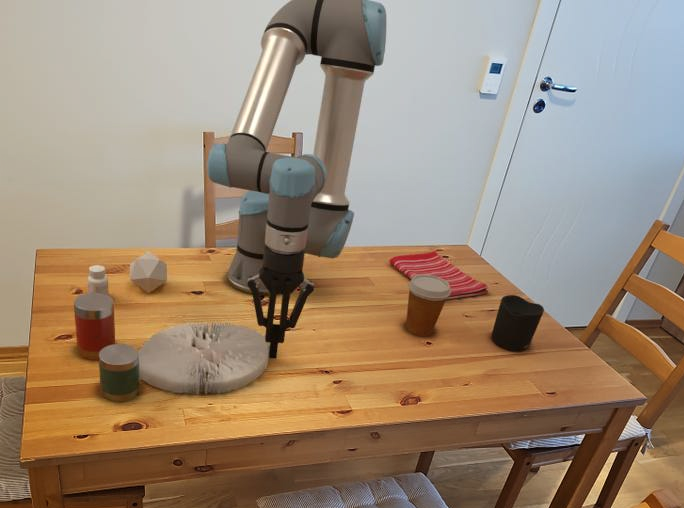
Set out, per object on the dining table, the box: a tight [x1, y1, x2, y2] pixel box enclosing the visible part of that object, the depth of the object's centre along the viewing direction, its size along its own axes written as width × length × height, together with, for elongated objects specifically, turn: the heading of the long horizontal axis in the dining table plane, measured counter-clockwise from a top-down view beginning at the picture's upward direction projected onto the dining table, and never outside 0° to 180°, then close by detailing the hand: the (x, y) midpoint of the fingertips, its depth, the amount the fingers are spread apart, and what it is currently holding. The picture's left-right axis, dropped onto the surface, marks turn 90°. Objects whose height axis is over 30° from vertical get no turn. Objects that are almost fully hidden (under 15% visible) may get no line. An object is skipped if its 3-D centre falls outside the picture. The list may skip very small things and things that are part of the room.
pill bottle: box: [87, 264, 110, 296], centre depth 142 cm, size 4×4×8 cm
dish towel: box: [389, 251, 489, 300], centre depth 174 cm, size 17×24×3 cm
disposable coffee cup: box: [405, 275, 451, 337], centre depth 146 cm, size 10×10×12 cm
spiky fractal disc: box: [138, 321, 270, 396], centre depth 127 cm, size 22×28×3 cm
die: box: [129, 250, 168, 294], centre depth 150 cm, size 8×9×10 cm
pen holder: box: [490, 294, 545, 353], centre depth 146 cm, size 9×9×10 cm
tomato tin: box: [73, 292, 116, 361], centre depth 124 cm, size 7×7×11 cm
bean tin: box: [98, 343, 140, 402], centre depth 115 cm, size 7×7×8 cm
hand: (272, 354), depth 129 cm, fingers closed
